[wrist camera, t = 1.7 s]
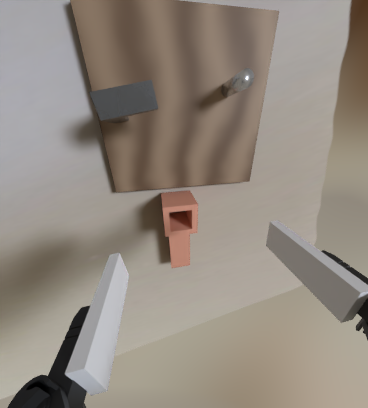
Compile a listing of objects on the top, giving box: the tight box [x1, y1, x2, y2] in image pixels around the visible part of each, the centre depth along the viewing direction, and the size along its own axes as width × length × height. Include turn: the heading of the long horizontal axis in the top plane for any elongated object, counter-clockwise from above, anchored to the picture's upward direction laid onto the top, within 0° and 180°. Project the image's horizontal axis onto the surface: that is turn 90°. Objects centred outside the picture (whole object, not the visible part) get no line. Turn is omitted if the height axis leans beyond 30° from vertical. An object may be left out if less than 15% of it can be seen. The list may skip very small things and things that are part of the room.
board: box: [70, 0, 279, 192], centre depth 22 cm, size 24×22×1 cm
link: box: [161, 191, 198, 268], centre depth 29 cm, size 16×5×6 cm, turn 1°
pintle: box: [221, 68, 254, 97], centre depth 20 cm, size 2×2×6 cm
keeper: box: [89, 80, 158, 123], centre depth 18 cm, size 6×2×7 cm, turn 101°
